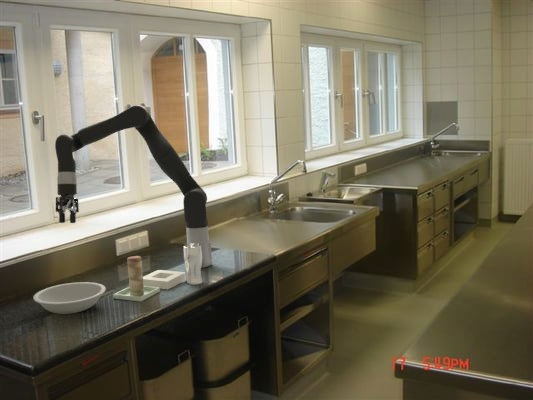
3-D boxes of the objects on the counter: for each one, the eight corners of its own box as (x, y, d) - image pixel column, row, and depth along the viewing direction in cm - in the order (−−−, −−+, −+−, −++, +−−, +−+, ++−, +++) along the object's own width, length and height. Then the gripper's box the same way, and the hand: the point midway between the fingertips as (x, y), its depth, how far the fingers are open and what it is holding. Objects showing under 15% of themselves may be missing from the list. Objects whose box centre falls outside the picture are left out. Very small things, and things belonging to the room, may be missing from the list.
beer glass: (189, 286, 240) (186, 248, 238) (183, 282, 246) (180, 244, 244) (206, 283, 243) (203, 245, 241) (199, 279, 249) (197, 242, 247)
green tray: (133, 289, 239) (133, 284, 239) (160, 292, 234) (159, 287, 234) (113, 299, 228) (113, 294, 228) (140, 302, 223) (140, 297, 223)
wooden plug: (140, 291, 234) (137, 255, 232) (146, 294, 230) (143, 257, 228) (128, 294, 232) (125, 257, 229) (133, 297, 228) (130, 260, 225)
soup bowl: (37, 327, 203) (35, 308, 202) (33, 306, 225) (31, 288, 223) (112, 314, 212) (111, 295, 211) (101, 295, 234) (99, 278, 233)
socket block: (158, 278, 253) (158, 269, 253) (186, 280, 248) (185, 272, 247) (139, 287, 242) (138, 278, 241) (168, 290, 236) (167, 281, 236)
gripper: (66, 181, 251) (67, 222, 250) (83, 184, 265) (84, 222, 264) (49, 182, 252) (49, 223, 252) (67, 185, 266) (68, 223, 266)
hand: (67, 222), depth 258 cm, fingers open, 8 cm apart
